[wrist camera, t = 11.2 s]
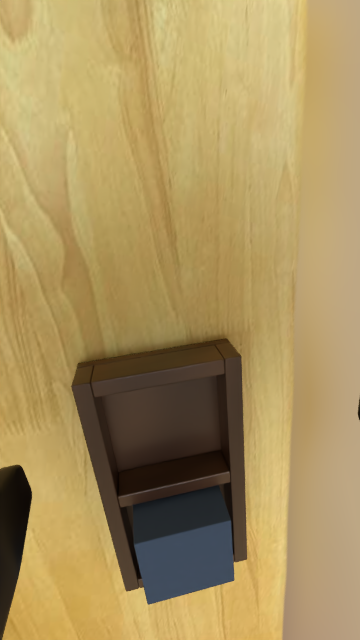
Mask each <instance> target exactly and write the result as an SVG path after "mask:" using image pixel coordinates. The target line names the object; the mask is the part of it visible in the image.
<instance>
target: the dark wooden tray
mask: <svg viewBox="0 0 360 640" xmlns="http://www.w3.org/2000/svg"><path fill="white" fill-rule="evenodd" d="M71 387H72V391H73V395H74V398H75V402H76V406H77V410H78V413H79V417H80V421H81V425H82V428H83V432H84V436H85V440H86V443H87V447H88V451H89V455H90V458H91V462H92V466H93V470H94V473H95V477H96V481H97V485H98V488H99V492H100V496H101V500H102V503H103V507H104V511H105V515H106V518H107V522H108V526H109V530H110V533H111V537H112V541H113V545H114V548H115V552H116V556H117V560H118V563H119V567H120V571H121V575H122V578H123V582H124V586H125V590H126V591H131V590H135V589H138V588H139V587H140V588H142V587H144V586H143V582H142V577H141V573H140V569H139V565H138V560H137V556H136V552H135V547H134V532H133V505H135V504H139V503H143V502H147V501H152V500H156V499H160V498H165V497H169V496H173V495H177V494H182V493H186V492H190V491H195V490H199V489H203V488H207V487H212V486H216V485H219V487H220V490H221V493H222V496H223V499H224V502H225V504H226V507H227V510H228V513H229V516H230V519H231V530H232V547H233V563H234V562H239V561H243V560H247V538H246V503H245V469H244V434H243V400H242V365H241V355H240V354H239V353H238V352H237V350H236V349H235V348H234V347H233V346H232V344H231V343H230V342H229V341H228V340H227V339H221V340H215V341H209V342H203V343H197V344H191V345H185V346H179V347H173V348H167V349H162V350H156V351H150V352H144V353H138V354H132V355H126V356H120V357H114V358H108V359H102V360H96V361H90V362H84V363H79V364H78V366H77V370H76V373H75V376H74V380H73V383H72V386H71Z"/></svg>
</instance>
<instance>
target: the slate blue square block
mask: <svg viewBox="0 0 360 640" xmlns="http://www.w3.org/2000/svg"><path fill="white" fill-rule="evenodd" d="M133 532H134V547H135V552H136V556H137V560H138V565H139V569H140V573H141V577H142V582H143V586H144V590H145V595H146V599H147V603H148V604H152V603H156V602H159V601H163V600H167V599H170V598H174V597H177V596H181V595H185V594H188V593H192V592H195V591H199V590H202V589H206V588H210V587H213V586H217V585H220V584H224V583H228V582H231V581H234V565H233V547H232V530H231V519H230V516H229V513H228V510H227V507H226V504H225V502H224V499H223V496H222V493H221V490H220V487H219V485H216V486H212V487H207V488H203V489H199V490H195V491H190V492H186V493H182V494H177V495H173V496H169V497H165V498H160V499H156V500H152V501H147V502H143V503H139V504H135V505H133Z"/></svg>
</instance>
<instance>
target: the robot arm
mask: <svg viewBox="0 0 360 640" xmlns="http://www.w3.org/2000/svg"><path fill="white" fill-rule="evenodd" d="M358 417H359V420H360V399H359V407H358ZM31 500H32V491H31V487H30V485H29V482H28V480H27V478H26V475H25V473H24V470H23V468H22V467H21V466H20V465H13V466H9V467H4V468H1V469H0V640H2V637H3V634H4V630H5V626H6V622H7V618H8V615H9V611H10V607H11V603H12V599H13V595H14V592H15V588H16V584H17V580H18V576H19V571H20V566H21V561H22V555H23V549H24V543H25V537H26V531H27V525H28V518H29V512H30V506H31Z"/></svg>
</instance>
